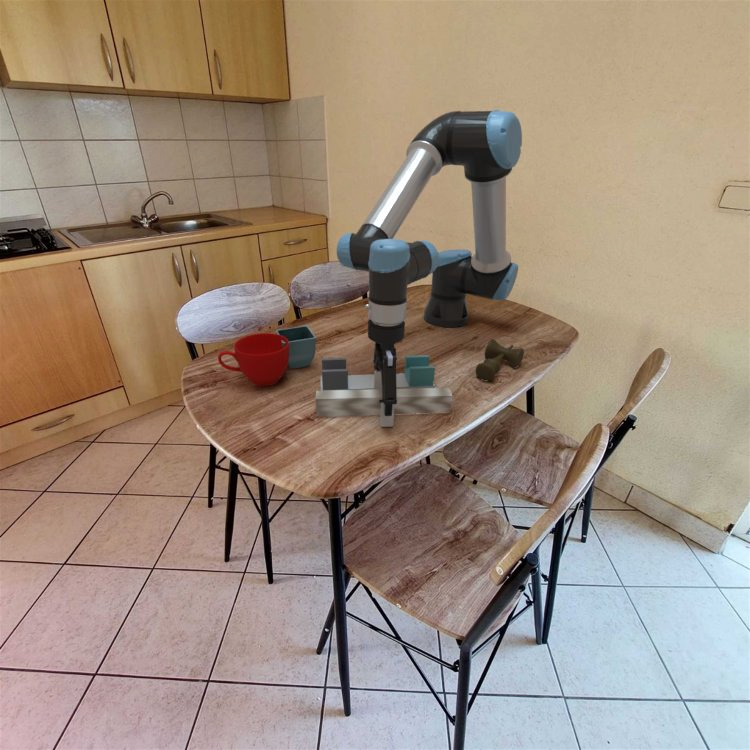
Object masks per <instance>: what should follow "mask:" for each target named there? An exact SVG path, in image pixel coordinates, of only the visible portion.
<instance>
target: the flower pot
mask: <svg viewBox="0 0 750 750" xmlns="http://www.w3.org/2000/svg"><path fill="white" fill-rule="evenodd" d="M275 334H278V335H281V336H284V337H285V338H287V339H288V341H289V362H288V367H289V368H290V369H292V370H294V369H299V368H304V367H309V366H311V364H312V363H313V361H314V359H315V356H316V346H317V336H316V335H315V334H314V333H313V331H312V329H311V328H309V326H308V325H300V326H297V327H296V326H295V327H288V328H283V329H282V328H281V329H276V330H275ZM281 342H282V346H283V348H285V346H286V343H285V342H283V341H282V340H281Z"/></svg>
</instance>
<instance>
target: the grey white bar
mask: <svg viewBox="0 0 750 750" xmlns="http://www.w3.org/2000/svg"><path fill="white" fill-rule="evenodd" d="M396 391H397V404H394V414H413V413H414V414H415V415H417V414H416V413H437V412H438V413H439V412H450V413H451V412H452V411H451V410H452V402H453V394H452V391H451V390H450V387H435V388H415V389H396ZM381 399H382V389H370V390H326V391H321V390H316V391H315V414H316V418H335V417H338V418H339V417H371V416H370V415H379V416H381V403H379V400H381Z"/></svg>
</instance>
